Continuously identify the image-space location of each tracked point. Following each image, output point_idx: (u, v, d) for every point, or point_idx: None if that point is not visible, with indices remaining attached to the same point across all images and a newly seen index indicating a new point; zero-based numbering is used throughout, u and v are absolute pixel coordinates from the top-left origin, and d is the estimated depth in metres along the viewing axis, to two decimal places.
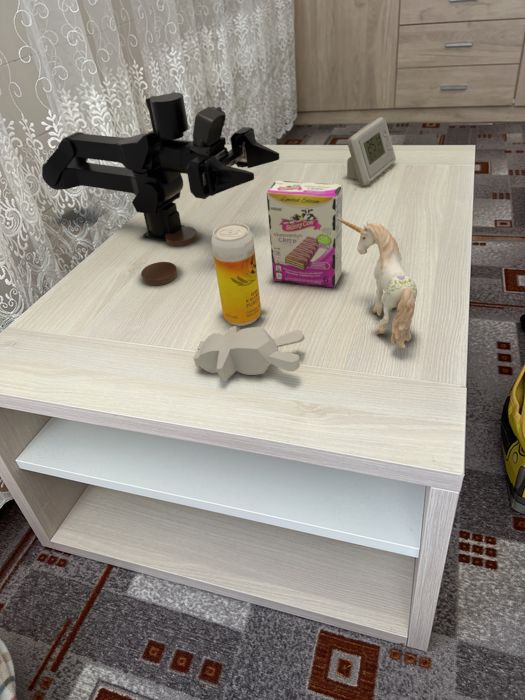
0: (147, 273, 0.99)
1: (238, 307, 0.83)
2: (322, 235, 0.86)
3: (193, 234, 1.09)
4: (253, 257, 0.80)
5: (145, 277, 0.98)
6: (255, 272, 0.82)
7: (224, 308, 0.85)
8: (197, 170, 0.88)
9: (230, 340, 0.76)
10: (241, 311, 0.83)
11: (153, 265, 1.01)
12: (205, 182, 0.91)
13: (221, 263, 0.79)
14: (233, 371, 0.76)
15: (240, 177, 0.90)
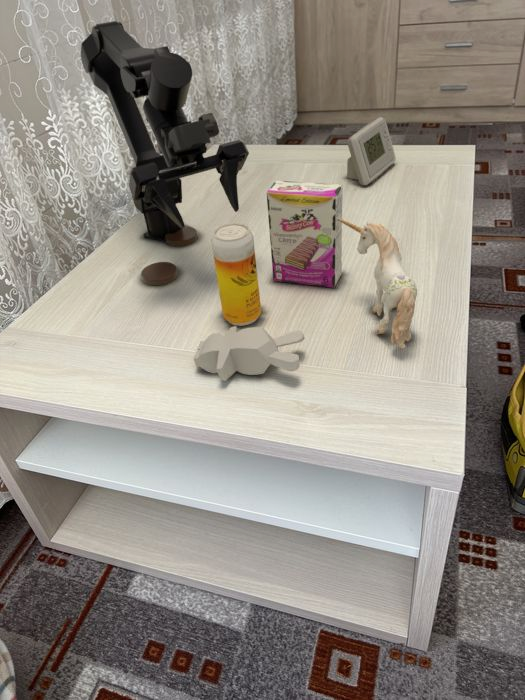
0: (147, 273, 0.99)
1: (238, 307, 0.83)
2: (322, 235, 0.86)
3: (193, 234, 1.09)
4: (253, 257, 0.80)
5: (145, 277, 0.98)
6: (255, 272, 0.82)
7: (224, 308, 0.85)
8: (135, 185, 0.81)
9: (230, 340, 0.76)
10: (241, 311, 0.83)
11: (153, 265, 1.01)
12: (143, 191, 0.83)
13: (221, 263, 0.79)
14: (233, 371, 0.76)
15: (173, 216, 0.84)
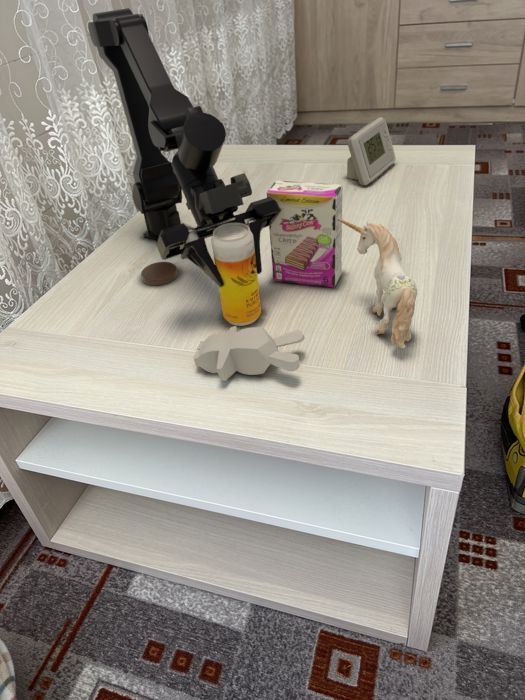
0: (147, 273, 0.99)
1: (238, 307, 0.83)
2: (322, 235, 0.86)
3: None
4: (253, 257, 0.80)
5: (145, 277, 0.98)
6: (255, 272, 0.82)
7: (224, 308, 0.85)
8: (164, 247, 0.78)
9: (230, 340, 0.76)
10: (241, 311, 0.83)
11: (153, 265, 1.01)
12: (181, 249, 0.81)
13: (221, 263, 0.79)
14: (233, 371, 0.76)
15: (211, 275, 0.81)
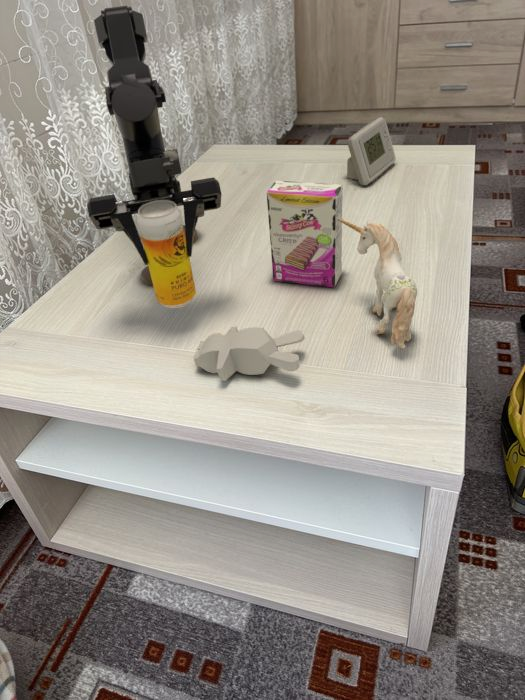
0: (147, 273, 0.99)
1: (163, 288, 0.80)
2: (322, 235, 0.86)
3: None
4: (178, 238, 0.76)
5: (145, 277, 0.98)
6: (182, 254, 0.78)
7: (154, 287, 0.82)
8: None
9: (230, 340, 0.76)
10: (166, 292, 0.81)
11: None
12: None
13: (143, 240, 0.76)
14: (233, 371, 0.76)
15: (138, 251, 0.79)
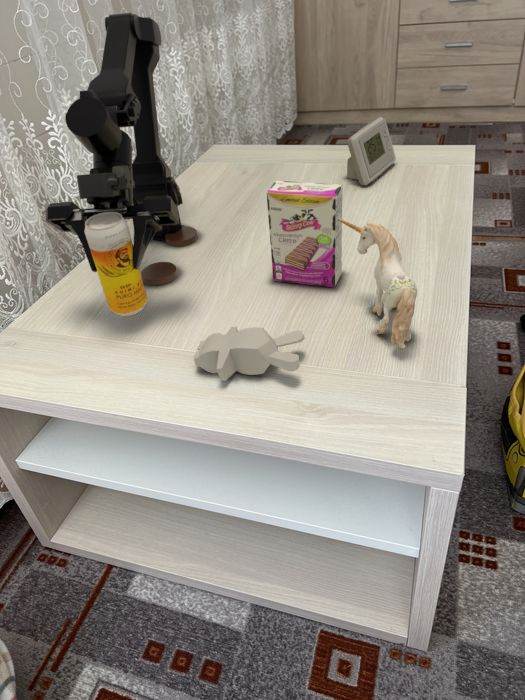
0: (147, 273, 0.99)
1: (109, 295, 0.83)
2: (322, 235, 0.86)
3: (193, 234, 1.09)
4: (120, 251, 0.79)
5: (145, 277, 0.98)
6: (126, 267, 0.80)
7: None
8: None
9: (230, 340, 0.76)
10: (112, 300, 0.83)
11: (153, 265, 1.01)
12: None
13: (90, 249, 0.80)
14: (233, 371, 0.76)
15: None
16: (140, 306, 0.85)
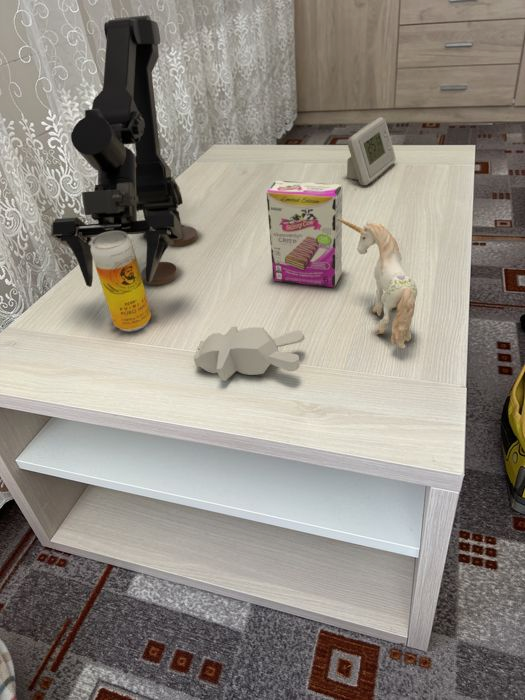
0: None
1: (114, 312, 0.85)
2: (322, 235, 0.86)
3: (193, 234, 1.09)
4: (125, 269, 0.80)
5: (145, 277, 0.98)
6: (130, 284, 0.82)
7: None
8: None
9: (230, 340, 0.76)
10: (117, 316, 0.85)
11: None
12: None
13: None
14: (233, 371, 0.76)
15: None
16: (144, 322, 0.87)
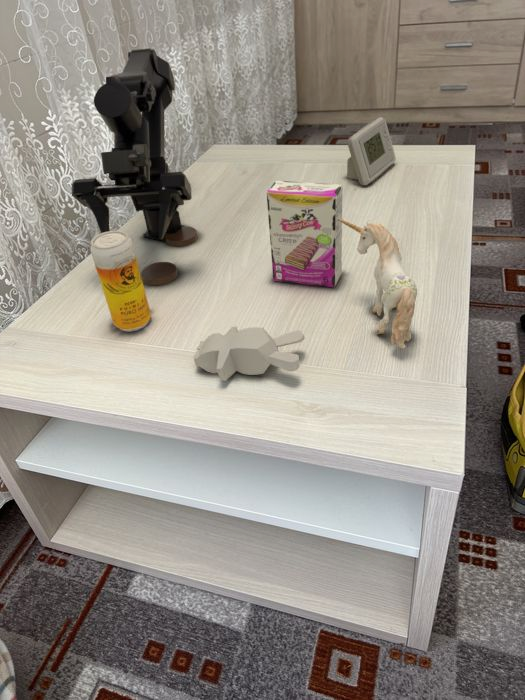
0: (147, 273, 0.99)
1: (114, 312, 0.85)
2: (322, 235, 0.86)
3: (193, 234, 1.09)
4: (125, 269, 0.80)
5: (145, 277, 0.98)
6: (130, 284, 0.82)
7: None
8: (73, 195, 0.90)
9: (230, 340, 0.76)
10: (117, 316, 0.85)
11: (153, 265, 1.01)
12: None
13: None
14: (233, 371, 0.76)
15: None
16: (144, 322, 0.87)
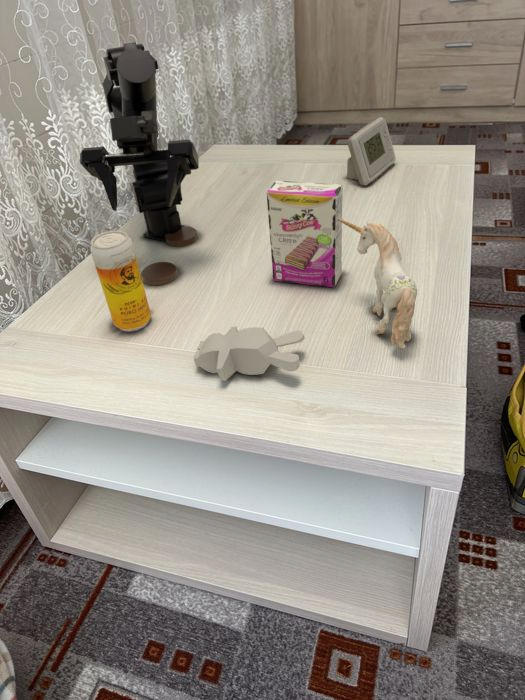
0: (147, 273, 0.99)
1: (114, 312, 0.85)
2: (322, 235, 0.86)
3: (193, 234, 1.09)
4: (125, 269, 0.80)
5: (145, 277, 0.98)
6: (130, 284, 0.82)
7: None
8: (81, 163, 0.90)
9: (230, 340, 0.76)
10: (117, 316, 0.85)
11: (153, 265, 1.01)
12: None
13: None
14: (233, 371, 0.76)
15: None
16: (144, 322, 0.87)
